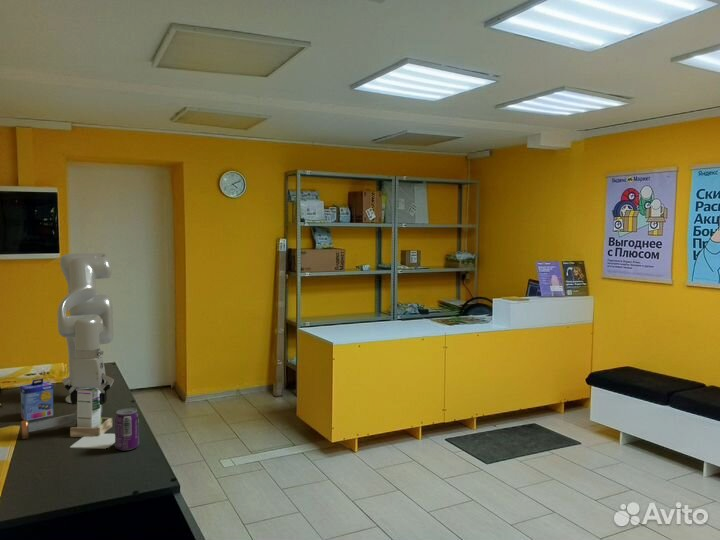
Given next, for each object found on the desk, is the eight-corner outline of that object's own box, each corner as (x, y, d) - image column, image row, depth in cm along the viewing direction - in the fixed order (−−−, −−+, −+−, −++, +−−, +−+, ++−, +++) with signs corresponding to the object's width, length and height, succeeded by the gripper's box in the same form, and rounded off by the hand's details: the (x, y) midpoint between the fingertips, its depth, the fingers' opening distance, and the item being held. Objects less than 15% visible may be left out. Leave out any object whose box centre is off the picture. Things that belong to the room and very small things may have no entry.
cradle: (86, 425, 203) (86, 417, 203) (113, 426, 203) (112, 417, 203) (70, 436, 192) (70, 428, 192) (98, 437, 192) (98, 428, 192)
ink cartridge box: (25, 422, 206) (24, 382, 205) (20, 418, 210) (18, 379, 209) (54, 415, 213) (53, 377, 212) (49, 412, 217) (48, 374, 216)
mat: (88, 434, 194) (88, 433, 194) (123, 434, 194) (123, 433, 194) (69, 448, 182) (69, 446, 182) (107, 448, 182) (107, 447, 182)
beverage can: (144, 445, 185) (143, 409, 185) (128, 453, 179) (127, 415, 178) (126, 442, 188) (125, 406, 187) (110, 450, 181) (109, 413, 180)
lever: (81, 424, 203) (81, 408, 203) (84, 426, 201) (83, 410, 201) (21, 437, 190) (20, 420, 190) (23, 439, 188) (22, 422, 188)
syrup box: (91, 433, 194) (92, 390, 194) (76, 432, 195) (77, 389, 195) (102, 429, 200) (103, 387, 200) (87, 427, 201) (88, 386, 201)
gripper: (117, 352, 199) (118, 400, 200) (68, 351, 199) (69, 400, 200) (107, 356, 191) (108, 407, 192) (56, 356, 192) (57, 406, 193)
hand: (88, 403), depth 196 cm, fingers open, 9 cm apart
